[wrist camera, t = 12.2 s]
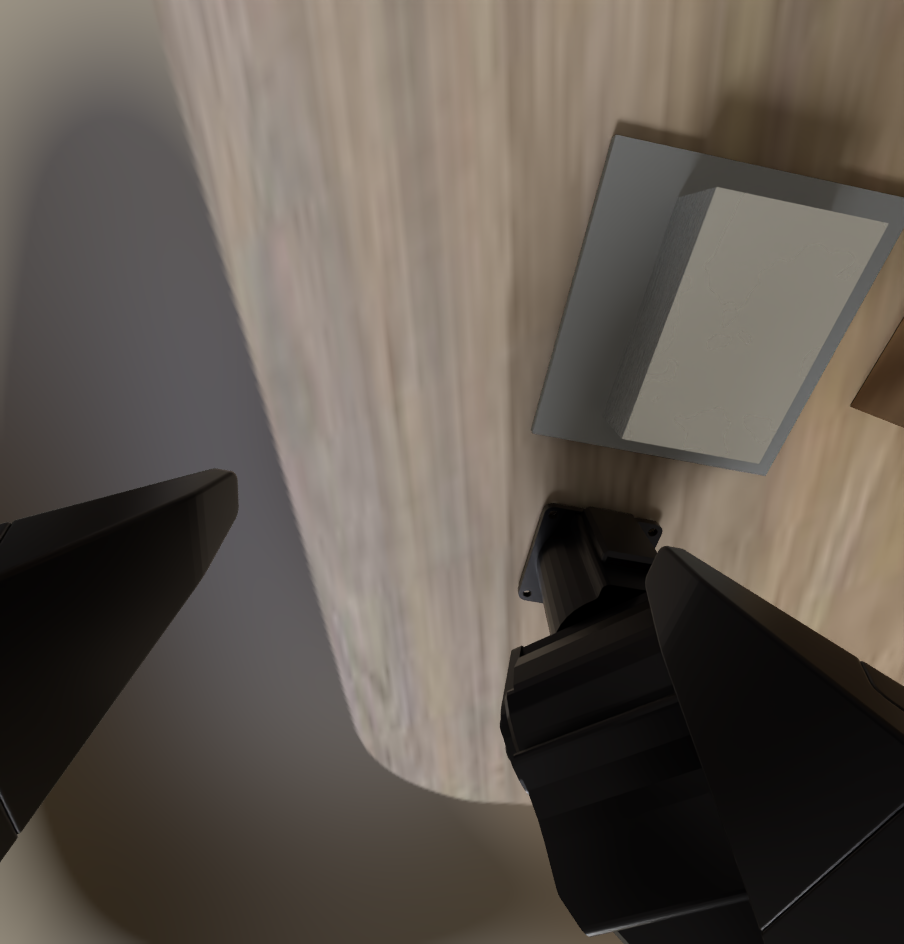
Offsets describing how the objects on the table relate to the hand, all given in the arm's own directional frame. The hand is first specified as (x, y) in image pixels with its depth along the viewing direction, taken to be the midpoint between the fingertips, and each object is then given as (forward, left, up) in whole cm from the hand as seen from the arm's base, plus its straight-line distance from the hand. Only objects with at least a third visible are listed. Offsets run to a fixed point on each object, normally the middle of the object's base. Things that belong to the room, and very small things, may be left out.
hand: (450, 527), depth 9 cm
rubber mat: (+4, -10, -13) cm, 17 cm away
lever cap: (+4, -10, -12) cm, 16 cm away
